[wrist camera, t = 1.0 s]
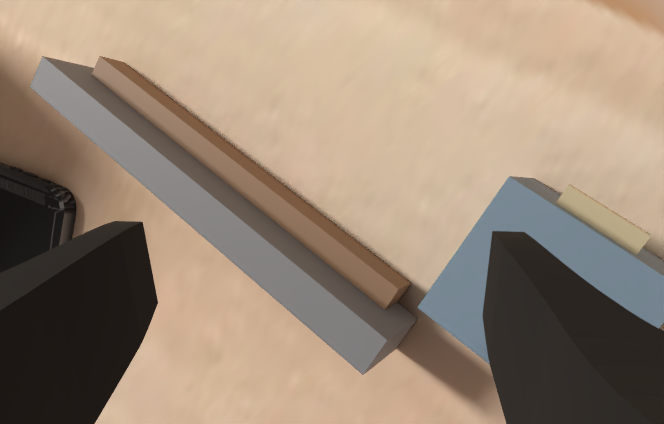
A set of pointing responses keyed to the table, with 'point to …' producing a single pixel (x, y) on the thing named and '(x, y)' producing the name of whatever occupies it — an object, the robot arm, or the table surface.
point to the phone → (32, 216)
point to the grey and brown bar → (236, 207)
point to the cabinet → (563, 242)
